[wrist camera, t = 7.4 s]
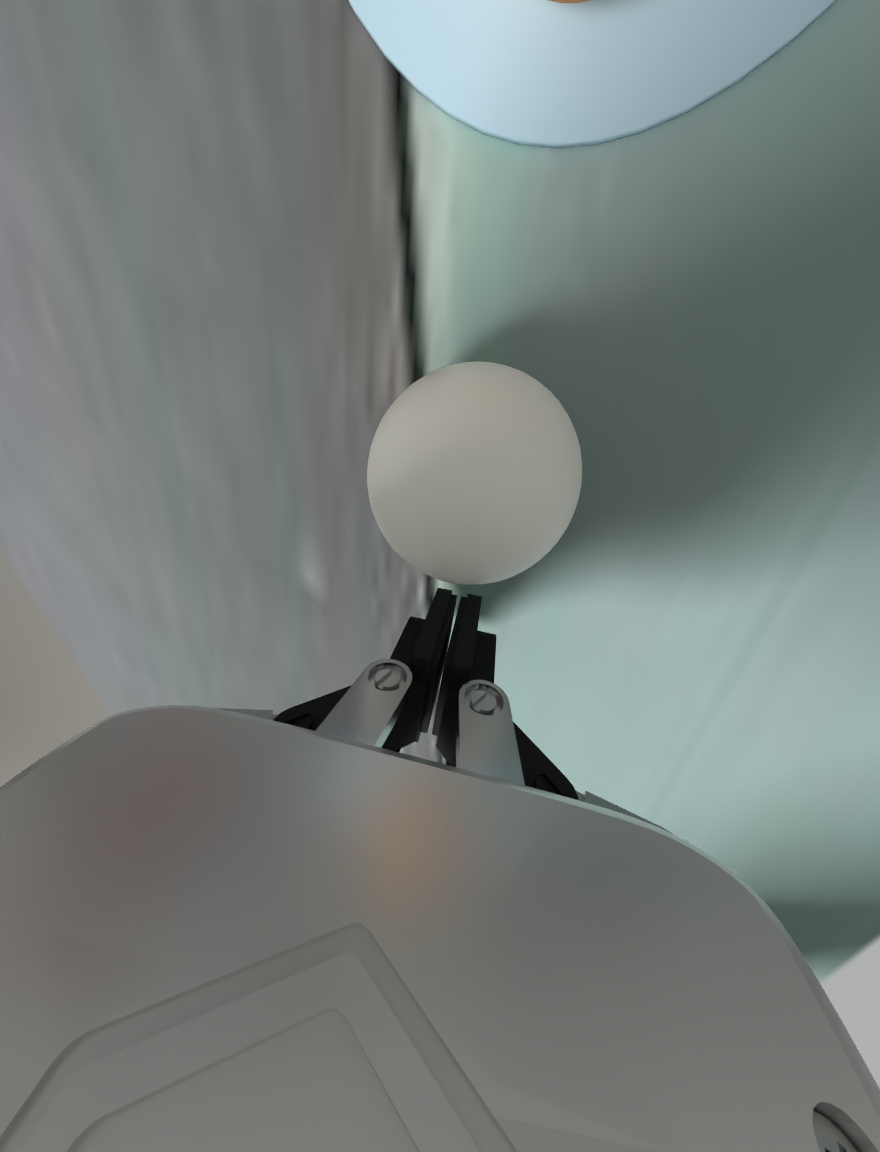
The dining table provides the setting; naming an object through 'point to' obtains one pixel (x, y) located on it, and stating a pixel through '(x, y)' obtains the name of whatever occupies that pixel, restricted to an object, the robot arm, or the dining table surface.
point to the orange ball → (569, 1)
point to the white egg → (474, 473)
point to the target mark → (577, 59)
